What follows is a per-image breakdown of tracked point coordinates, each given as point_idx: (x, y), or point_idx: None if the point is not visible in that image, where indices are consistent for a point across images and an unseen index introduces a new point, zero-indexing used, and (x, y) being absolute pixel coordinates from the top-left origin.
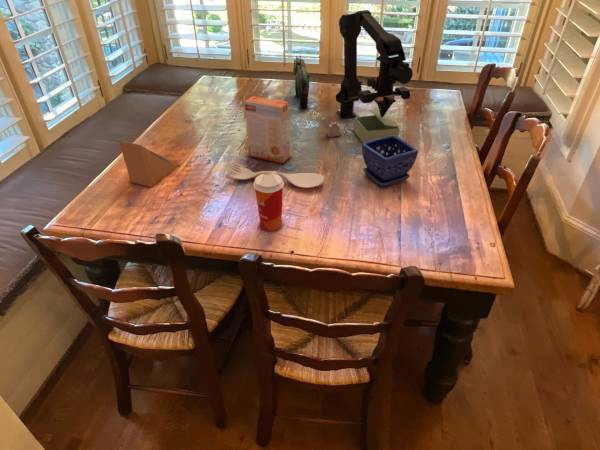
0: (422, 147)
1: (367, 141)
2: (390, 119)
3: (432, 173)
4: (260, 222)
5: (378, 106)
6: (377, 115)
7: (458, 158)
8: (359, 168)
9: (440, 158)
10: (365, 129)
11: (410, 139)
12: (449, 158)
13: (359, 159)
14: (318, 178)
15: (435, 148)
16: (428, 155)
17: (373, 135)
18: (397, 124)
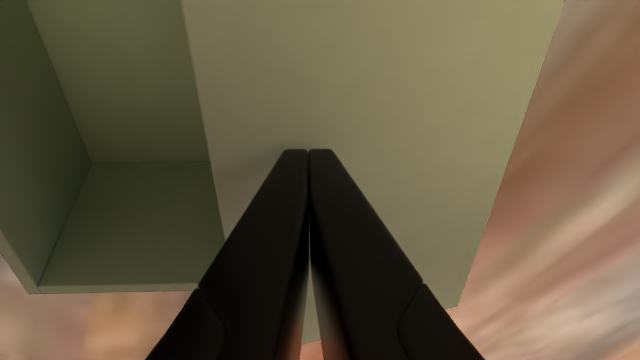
0: (560, 248)
1: (84, 200)
2: (468, 153)
3: None
4: None
5: (175, 351)
6: (235, 83)
7: (637, 356)
8: (29, 356)
9: (547, 346)
10: (3, 247)
11: (586, 127)
12: (593, 351)
13: (27, 296)
14: None
15: (632, 271)
16: (509, 319)
17: (131, 247)
18: (468, 271)
